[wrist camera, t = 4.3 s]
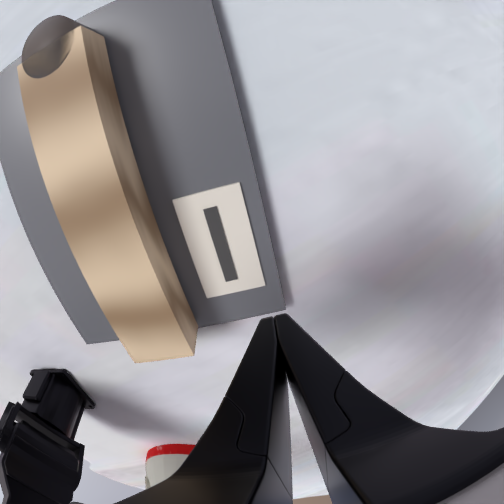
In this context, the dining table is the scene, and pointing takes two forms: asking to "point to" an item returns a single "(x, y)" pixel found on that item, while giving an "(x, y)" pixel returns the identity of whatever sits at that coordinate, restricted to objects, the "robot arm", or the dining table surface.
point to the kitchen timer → (164, 462)
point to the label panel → (162, 166)
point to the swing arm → (101, 189)
